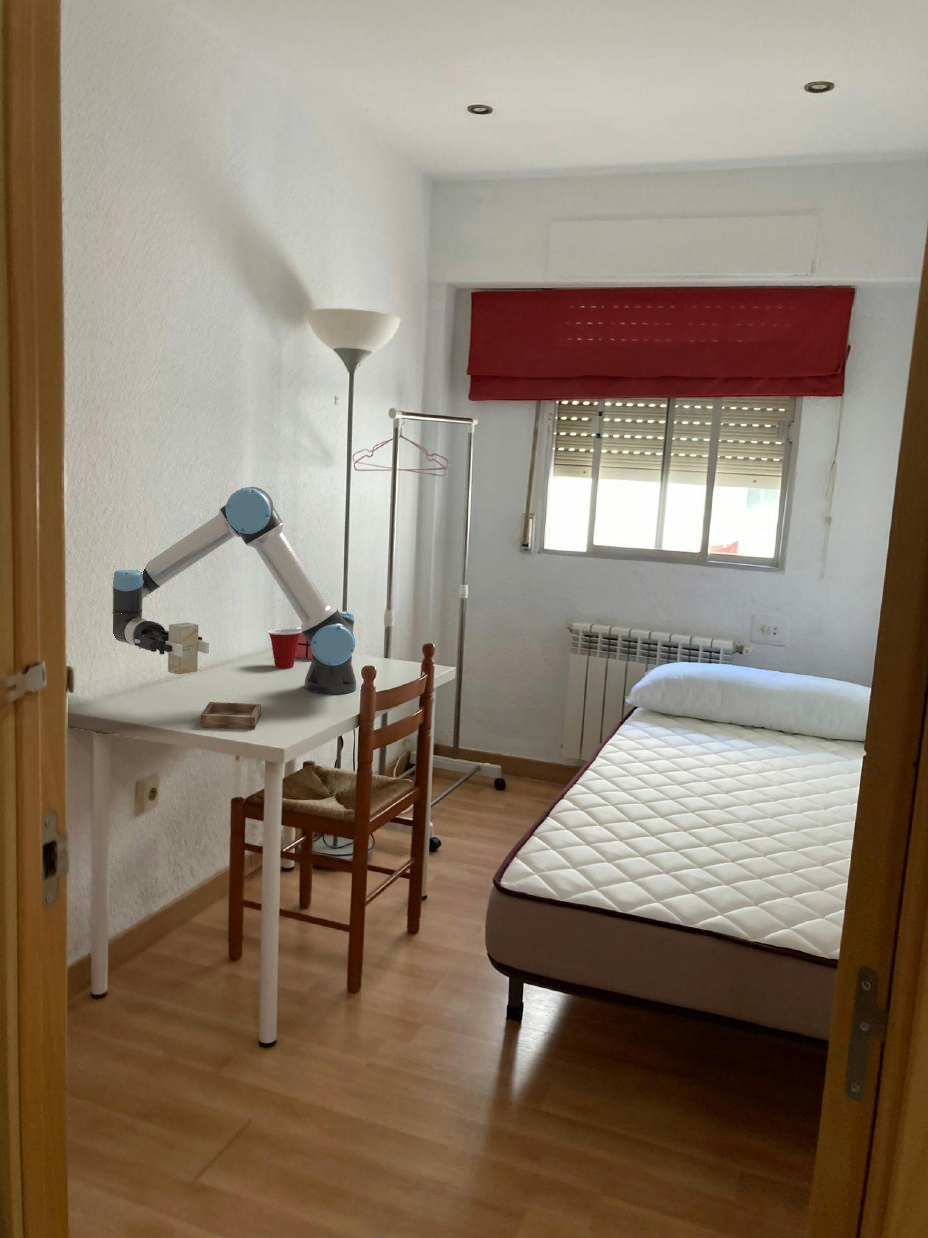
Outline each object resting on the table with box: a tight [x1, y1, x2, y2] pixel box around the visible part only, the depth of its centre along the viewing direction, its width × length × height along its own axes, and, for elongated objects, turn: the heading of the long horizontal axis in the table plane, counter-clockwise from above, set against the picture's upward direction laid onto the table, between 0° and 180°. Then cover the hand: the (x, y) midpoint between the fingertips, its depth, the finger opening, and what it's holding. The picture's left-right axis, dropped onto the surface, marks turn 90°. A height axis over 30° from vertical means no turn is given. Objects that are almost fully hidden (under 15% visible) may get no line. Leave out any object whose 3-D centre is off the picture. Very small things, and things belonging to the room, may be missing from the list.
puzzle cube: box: [294, 626, 312, 660], centre depth 321 cm, size 10×10×10 cm
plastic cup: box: [267, 628, 302, 669], centre depth 303 cm, size 11×11×12 cm
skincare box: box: [167, 622, 199, 675], centre depth 237 cm, size 6×4×12 cm
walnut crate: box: [199, 701, 262, 730], centre depth 237 cm, size 13×13×3 cm
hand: (194, 649), depth 233 cm, fingers closed on skincare box, 7 cm apart
